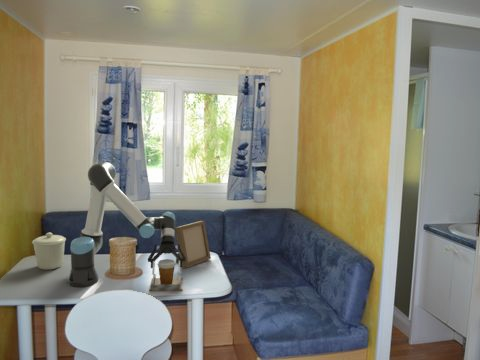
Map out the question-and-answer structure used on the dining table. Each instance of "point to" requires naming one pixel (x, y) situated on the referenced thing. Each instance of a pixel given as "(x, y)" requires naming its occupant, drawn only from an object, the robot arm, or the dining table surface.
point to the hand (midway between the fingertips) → (166, 273)
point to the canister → (49, 251)
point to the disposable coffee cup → (166, 271)
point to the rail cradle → (174, 286)
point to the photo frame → (193, 243)
